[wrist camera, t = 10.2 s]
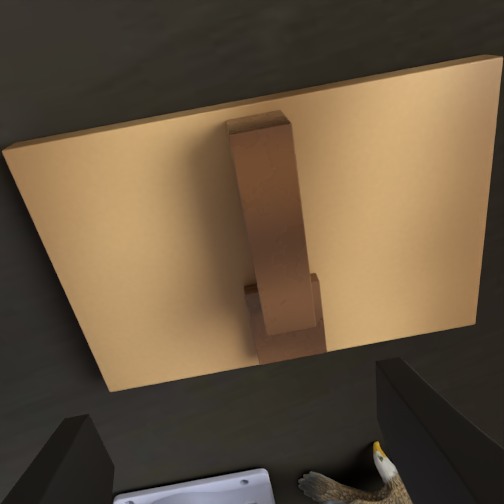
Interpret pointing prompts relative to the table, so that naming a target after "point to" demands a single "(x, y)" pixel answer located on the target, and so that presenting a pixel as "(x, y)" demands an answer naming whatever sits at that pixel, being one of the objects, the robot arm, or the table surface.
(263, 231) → the wooden stepped block
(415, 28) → the table surface
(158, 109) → the table surface
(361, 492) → the eagle figurine
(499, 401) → the table surface
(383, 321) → the board
